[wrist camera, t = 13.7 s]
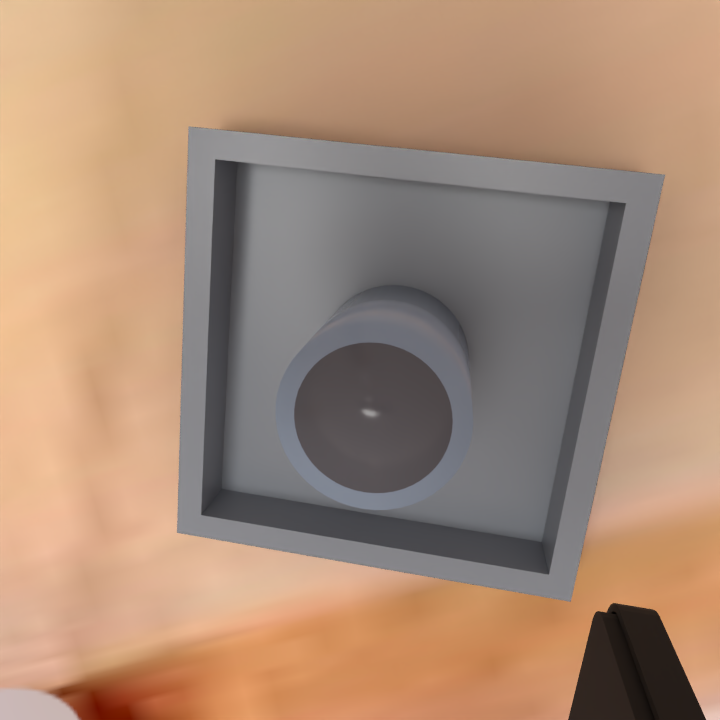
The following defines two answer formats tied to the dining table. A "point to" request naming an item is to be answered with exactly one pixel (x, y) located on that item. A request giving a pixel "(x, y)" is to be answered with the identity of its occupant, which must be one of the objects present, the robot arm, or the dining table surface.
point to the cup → (379, 400)
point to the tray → (456, 291)
